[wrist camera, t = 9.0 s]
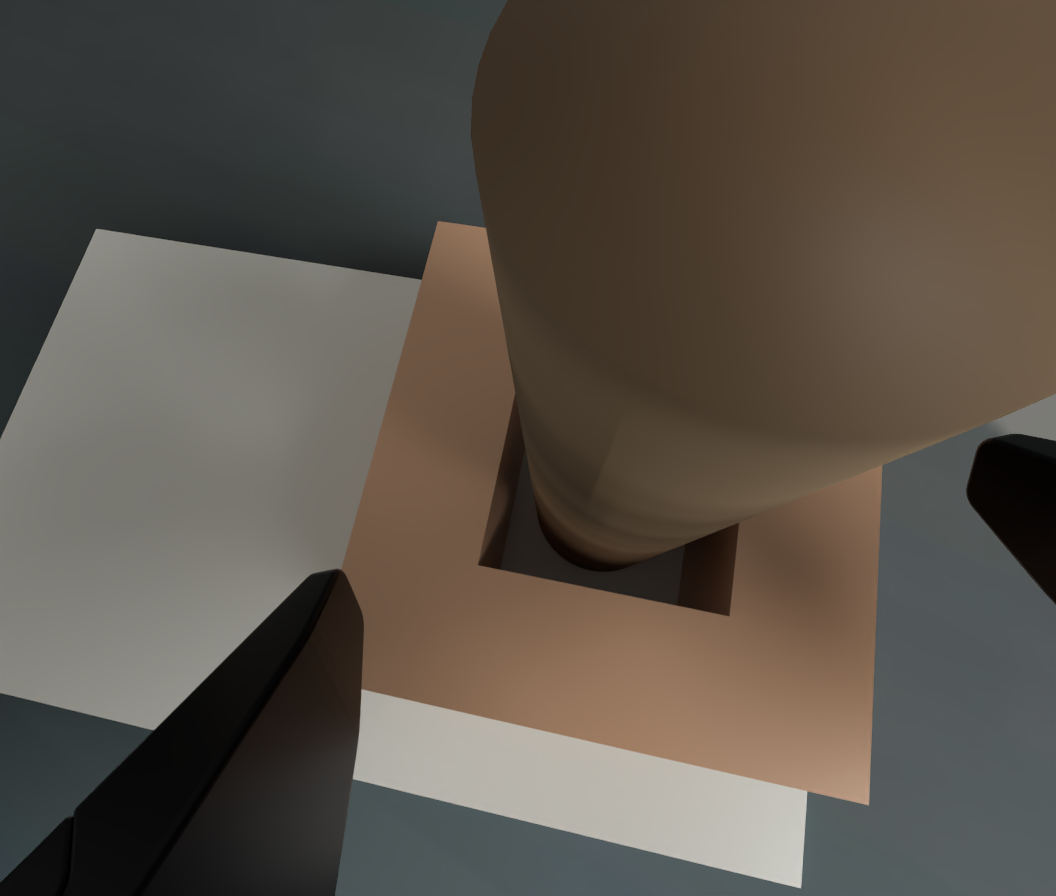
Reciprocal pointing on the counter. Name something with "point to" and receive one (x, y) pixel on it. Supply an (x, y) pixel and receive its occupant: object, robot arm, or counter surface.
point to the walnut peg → (760, 246)
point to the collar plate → (255, 505)
